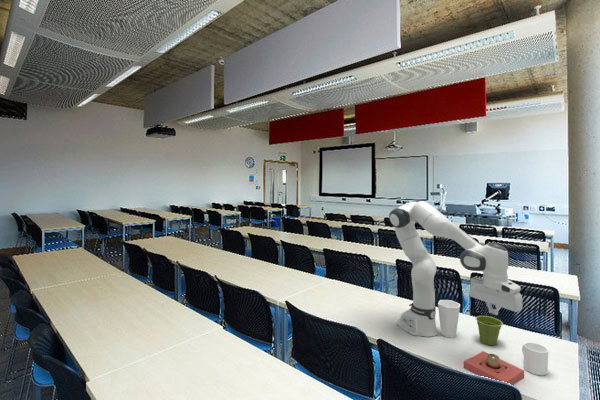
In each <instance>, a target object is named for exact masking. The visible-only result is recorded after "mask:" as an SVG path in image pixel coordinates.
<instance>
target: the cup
mask: <svg viewBox="0 0 600 400" xmlns="http://www.w3.org/2000/svg"><path fill="white" fill-rule="evenodd" d="M437 306H438V307H437V308H438V309H437V310H438V317H439V328H440V334H441V336H444V337H445V338H449V339H450V338H451V339H455V338H456V336H457V331H458V330H457V329H458V324H459V318H460V310H461V309H460V308H461V304H460V303H458V302H457V301H454V300H450V299H439V301H438V303H437Z"/></svg>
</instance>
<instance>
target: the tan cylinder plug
mask: <svg viewBox="0 0 600 400" xmlns="http://www.w3.org/2000/svg"><path fill="white" fill-rule="evenodd" d="M499 359H500V357H499V356H498V355H497V354H494V353H488V355H487V366H488V367H490V368H492V369H499Z"/></svg>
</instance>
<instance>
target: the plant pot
mask: <svg viewBox="0 0 600 400" xmlns="http://www.w3.org/2000/svg"><path fill="white" fill-rule="evenodd" d="M475 320H476V322H477V323H476V324H477V327H478V335H479V341H480V342H481V343H482V344H484V345H487V346H496V345H497V344H498V340H499V335H500V331H501V329H502V327H503V325H504V323H503V321H501V320H500V319H498V318H496V317H493V316H489V315H478V316H476V317H475Z"/></svg>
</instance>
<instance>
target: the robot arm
mask: <svg viewBox="0 0 600 400" xmlns="http://www.w3.org/2000/svg"><path fill="white" fill-rule="evenodd" d="M388 219H389V222H390V224H391V225H392V226H393V227H394V231H395V234H396V238H397V241H398V243H399V244H400V246H401V248H402V251H403V253H404V255H405V256H406V257H407V258H408V259H409V261H410V262H411V264H412V269H411V272H410V275H411V276H410V277H411V283H412V284H411V285H412V292H413V293H412V300H413V301H412V303H409V304H408V307H410V309H407V310H405V311H403V312H402V313H401V315H400V318H399V319H398V320H396V322H395V325H397V326H399V327H400V328H401V329H403V330H404V331H406V332H407V333H409V334H410V335H412V336H420V337H427V338H429V337H434V336H437V335H438V332H439V331H438V328H437V321H436V311H437V310H436V309H437V308H436V303H435V302H436V293H435V282H434V280H435V275H436V273H437V265H436V262H435V261H434V259H433V258H432V257H431V255H430V253H429V252H428V250H427V248H426V246H424V243H423V240H422V239H421V237H420V235H419V233H418V231H417V229H416V227H415V224H416V223H418V224H419V225H420V226H421V227H422V228H423V229H424V230H425V231H426V232H427V233H428V234H431V235H432V236H434V237H441V238H446V239H451V240H452V241H454V242H456V243H457V244H459V245H460V247H462V248H463V249H464V251H462V252H461V254H460V256H459V262H460V264H461V266H462V267H463V268H464V269H465V270H467V271H472V272H483V274H482V277H481V278H480V277H477V276H474V277H471V278H470V287H469V291H468V294H469V296H470V297H471V298H473V299H475V300H476V299H477V300H480V301H482V302H485V303H486V306H487V309H488V313H489V314H492V315H493V316H497V315H499V311H500V310H501V308H503V309H506V310H508V311H512V312H515V313H518V312H520V311H521V310H522V309H523V295H522V294H521V293H520V291H521V289H522V288H521V286H520V285H519V284H517V283H515V282H513V281H512V280H510V279H508V276H509V275H508V269H509V253H508V250H507V248H506V247H504V245H500V244H498V243H492V242H490V243H486V244H484V243H481V242H479V241H477V240H476V239H475V238H474V237H472V236H471V235H470V234H468V233H467V232H466V231H464V230H463V228H461V227H459V226H457V224H455V223H454V222H452V221H451V220H450V219H448V217H446V216H445V215H444V214H443V213H441V212H440V211H439V210H438V209H437V208H436V207H434V206H433V205H432V204H431V203H428V202H427V201H424V200H412V201H410V202H407V203H404V204H402V205H400V206H399V207H396V208H394V209H392V210H391V211H390V212H389V215H388ZM492 305H494V306H495V308H493V306H492Z"/></svg>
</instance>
